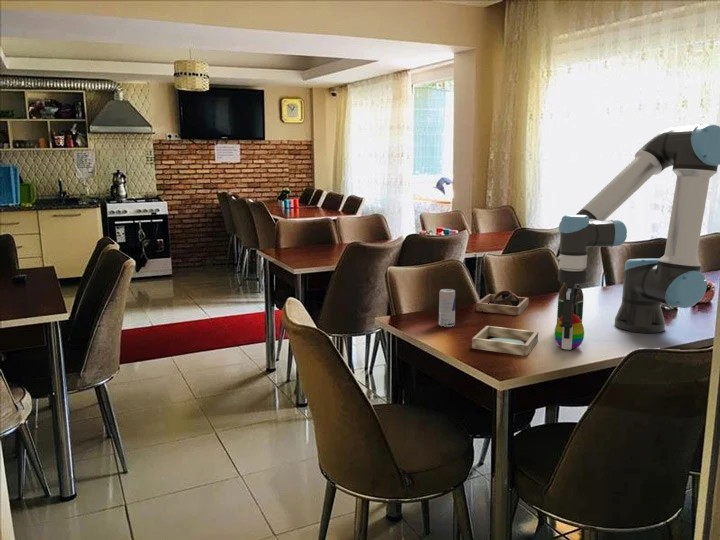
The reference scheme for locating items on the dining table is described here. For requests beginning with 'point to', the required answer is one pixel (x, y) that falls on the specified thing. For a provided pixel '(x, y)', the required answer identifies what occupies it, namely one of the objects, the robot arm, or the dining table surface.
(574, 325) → the decorative egg
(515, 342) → the pad
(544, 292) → the dining table surface
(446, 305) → the energy drink
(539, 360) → the dining table surface
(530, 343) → the shallow wooden tray
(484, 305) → the weathered wood tray
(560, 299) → the beer bottle
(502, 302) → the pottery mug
